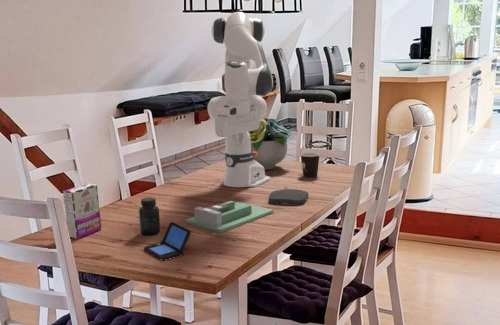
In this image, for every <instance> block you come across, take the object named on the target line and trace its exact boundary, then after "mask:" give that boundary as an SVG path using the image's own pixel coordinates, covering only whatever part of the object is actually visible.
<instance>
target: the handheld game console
mask: <svg viewBox="0 0 500 325" xmlns="http://www.w3.org/2000/svg"><path fill="white" fill-rule="evenodd" d="M191 234H192V232H191V229H187V228H186V227H185V226H184V227H183V226H181V225H180V224H178V223H175V222H174V221H171V222H169V224H168V227H167V229H166V231H165V233H164V236H163V237H162V240H160V242H158V243H154V244H153V243H152V244H150V245H146V246H144V247H143V250H144V251H145V252H146V251H147V252H146V253H148V252H149V253H148V254H149V255H151V254H152V255H151V256H153V255H154V256H153V257H154V258H156V257H157V259H158V258H159V259H158V260H160V259H162V260H164V261H166V260H165V259H168V260H170V259H169V258H172V259H174V258H173V257H175V258H177V256H179V257H181V256H180V255H182V256H184V251H185V248H186V245H187V243H188V241H189V239H190V236H191ZM162 260H161V261H162Z"/></svg>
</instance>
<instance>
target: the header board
mask: <svg viewBox="0 0 500 325" xmlns="http://www.w3.org/2000/svg"><path fill="white" fill-rule="evenodd" d="M221 204H223V205H227V206H229V211H227V212H224V213H222V214H221V212H218V211H214V210H212V209H208V207H202V206H198V207H194V208H193V211H194V216H193V217H189V218H186V219H184V223H186V224H190V225H193V226H197V227H200V228H203V229H207V230H212V231H215V232H218V233H223V232H227V231H229V230H231V229H234V228H237V227H239V226H242V225H245V224H248V223H250V222H252V221H255V220H257V219H259V218H263V217H265V216H268V215H270V214H273V213H274V212H275V210H274V209H271V208H266V207H262V206H257V205H254V204H249V203H245V202H240V201H236V202H235V201H232V200H229V201H226V202H223V203H221Z"/></svg>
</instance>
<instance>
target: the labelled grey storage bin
mask: <svg viewBox="0 0 500 325" xmlns="http://www.w3.org/2000/svg"><path fill="white" fill-rule="evenodd" d="M207 208H208V209H212V210H214V211H218V212H221V214H222V213H224V212H227V211H229V206H227V205H223V204H222V203H217V204H215V205H211V206H207Z"/></svg>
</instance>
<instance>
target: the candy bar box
mask: <svg viewBox="0 0 500 325" xmlns="http://www.w3.org/2000/svg"><path fill="white" fill-rule="evenodd" d="M98 193H99V192H98V184H96V183H89V182H88V183H84V184H80V185H78V186H74V187H71V188H69V189H65V190H63V191H62V194H63V195H62V196H63V202H64V210H65V220H67V221H66V227H67V226H68V229H67V231H68V230H69V234H70V237H71V239H76V240H79V239H82V238H84V237H87V236H89V235H91V234H94V233H96V232H98V231H100V230H102V222H101V213H100V203H99V194H98ZM86 235H87V236H86ZM83 236H84V237H83ZM70 237H69V238H70ZM81 237H82V238H81ZM78 238H79V239H78Z"/></svg>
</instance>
